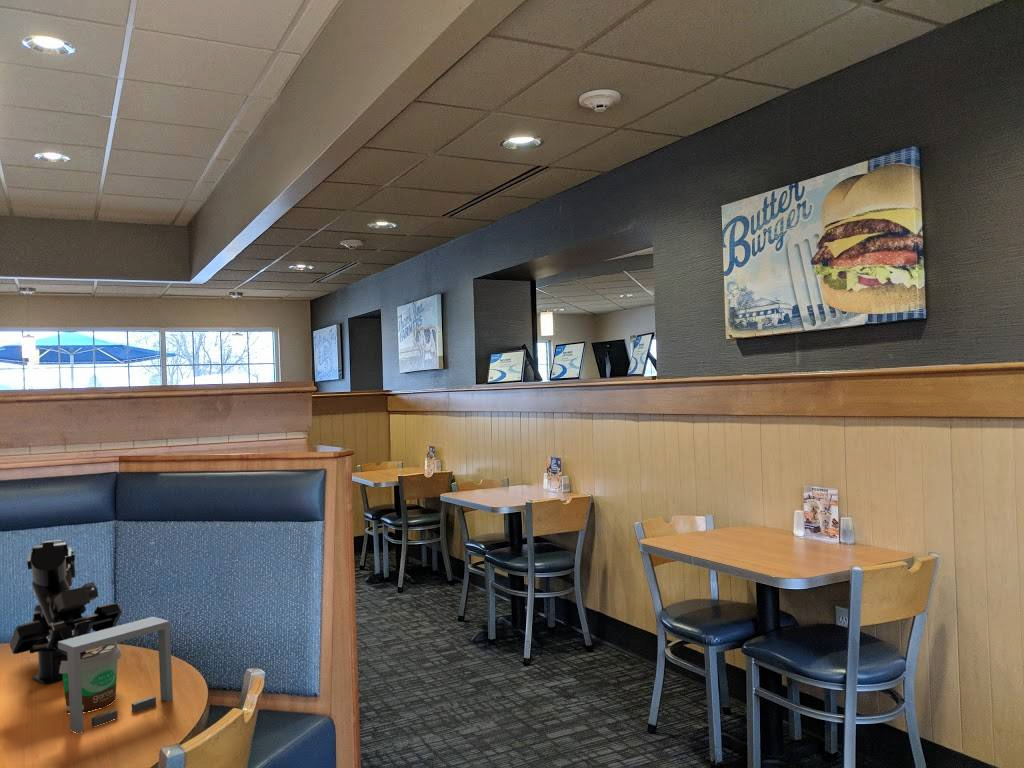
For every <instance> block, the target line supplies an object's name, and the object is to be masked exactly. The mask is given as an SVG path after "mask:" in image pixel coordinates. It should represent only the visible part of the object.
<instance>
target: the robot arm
mask: <svg viewBox="0 0 1024 768" xmlns="http://www.w3.org/2000/svg"><path fill="white" fill-rule="evenodd" d="M75 561H76V552H75V550H74V549H73V548H72V546H68V542H67V541H66V540H65V539H62V538H61V539H53V540H43V542H39V544H37V545H36V544H35V545H32V548H31V550H30V551H28V555H27V564H26V565H27V570H31V572H32V583H31V586H32V589H33V591H34V593H35V595H36V598H37V601H38V603H39V604H38V605H35V606H34V610H33V611H34V613H33V614H32V621H30V622H26V623H22V624H18V625H17V626H16V628H15V629H14V631H13V634H12V636H11V639H10V641H9V646H10V650H11V653H12V654H14V655H17V654H22V653H25V652H29V654H33V653H37V657H38V673H37V674H34V675H31V678H32V680H34V681H37V682H39V683H42V684H45V685H47V684H51V683H53V682H57V681H60V680H63V676H62V673H59V670H60V665H61V661H68V657H67V652H66V651H63V650H61V649H58V642H59V641H62V640H66V639H70V638H74V637H78V636H81V635H85V634H89V633H91V631H92V632H93V631H94V632H96V631H100V630H104V629H108V628H112V627H115V626H117V623H118V621H119V619H120V617H121V615H122V613H123V611H122V608H121V606H120V604H118V603H117V602H111V603H107V604H103V605H98V606H96V608H95V610H94V612H93V614H89V615H86V616H83V615H82V614H85V612H86V610H87V608H86V605H88V604H90V603H91V601H93V600H95V599H96V598H98V596H99V591H98V587H97V586H96V584H95V582H94V581H92V582H86V583H84V584H83V585H82V586H80V587H76V588H72V589H71V588H70V587H71V586H73V579H75V578H76V567H75V566H76V565H75ZM85 653H87V651H85V652H81V653H80V656H81V655H83V654H85Z"/></svg>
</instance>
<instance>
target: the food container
mask: <svg viewBox="0 0 1024 768" xmlns="http://www.w3.org/2000/svg"><path fill="white" fill-rule="evenodd" d="M120 658H122V652H121V649H120V646H118V642H117V643H113V644H109V645H106V646H102V647H99V648H96V649H94V650H92V651H91V650H90V651H88V652H87V651H86V653H85V654H83V655H81V656H80V662H81V687H82V711H83V712H88V711H92V710H95V709H99V708H103V707H105V706H107V705H109V704H111V703H112V702H113V701H114V700H115V701H116V699H115V698H116V697H117V677H118V676H117V675H118V660H120ZM59 673H62V676H63V679H62V683H63V690H64V699H65V708H66V714H67V713H70V706H69V681H68V661H61V665H60V670H59ZM115 701H114V702H115ZM112 704H113V703H112ZM112 704H111V705H112ZM109 706H110V705H109ZM107 707H108V706H107ZM105 708H106V707H105ZM103 709H104V708H103Z"/></svg>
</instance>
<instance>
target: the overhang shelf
mask: <svg viewBox="0 0 1024 768" xmlns="http://www.w3.org/2000/svg"><path fill="white" fill-rule="evenodd" d="M170 624H171V621H170V620H167V619H164V618H161V617H156V616H150V617H147V618H142V619H140V620H139V619H138V620H134V621H131V622H126V623H124V624H120V625H115V627H112V628H108V629H104V630H100V631H94V632H93V631H92V632H90V633H89V634H85V635H81V636H78V637H74V638H70V639H66V640H62V641H59V642H58V649H61V650H63V651H66V652H67V657H68V681H69V706H70V715H69V726H70V729H71V730H72V731H74V732H76V733H80V734H82V733H81V732H83V733H84V716H83V715H84V714H83V711H82V687H81V662H80V653H81V652H85V651H86V652H87V651H88V652H89V651H91V650H92V651H93V650H96V649H100V648H102V647H103V646H106V645H109V644H113V643H117V644H118V643H120V642H123V641H127V640H130V639H134V638H137V637H142V636H145V635H148V634H152V633H156V632H157V641H158V643H157V644H158V665H159V685H160V686H159V687H160V689H159V690H160V700H161V699H162V701H165V702H167V703H168V702H172V701H174V696H173V694H174V693H173V692H174V691H173V673H172V672H173V670H172V669H173V667H172V648H171V647H172V646H171V625H170ZM156 706H157V697H156V696H154V695H152V696H149V697H146V698H143V699H140V700H137V701H135V702H132V703H131V713H133V712H134V713H133V714H136V713H138V712H141V711H144V710H148V709H150V708H152V707H156ZM135 712H136V713H135ZM118 714H119V713H118V710H117V709H112V710H109V711H106V712H103V713H100V714H96V715H94V716H91V719H90V720H91V726H92V725H93V726H97V725H100V724H103V723H105V724H107V723H106V722H108V723H110V722H109V721H111V720H113V719H116V718H118V717H119V716H118ZM118 719H119V718H118ZM111 722H112V721H111ZM103 725H104V724H103ZM100 726H101V725H100ZM97 727H98V726H97Z"/></svg>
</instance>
